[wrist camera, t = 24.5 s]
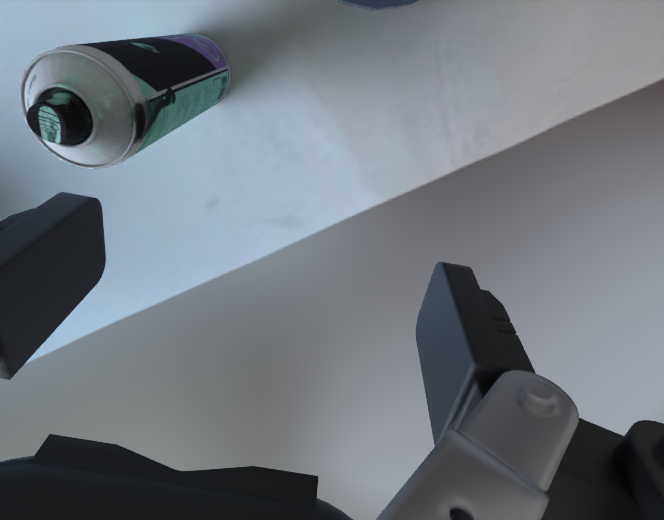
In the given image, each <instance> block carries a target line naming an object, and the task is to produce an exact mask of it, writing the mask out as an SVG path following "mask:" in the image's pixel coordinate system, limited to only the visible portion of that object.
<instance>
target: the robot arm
mask: <svg viewBox="0 0 664 520" xmlns="http://www.w3.org/2000/svg"><path fill="white" fill-rule="evenodd" d="M105 262H106V254H105V241H104V228H103V215H102V207H101V204H100V202H99V200H98V199H96V198H92V197H87V196H81V195H76V194H71V193H65V192H61V193H58V194H57V195H55V196H54V197H52V198H51V199H49V200H47V201H46V202H44V203H43V204H41V205H40V206H38V207H37V208H33V209H30V210H27V211H24V212H21V213H17V214H14V215H11V216H9V217H7V218H6V219H4V220H2V221H1V222H0V378H2V379H9V380H10V379H11V378H12V377H13V376H14V374H16V372H17V371H18V370H19V369H20V368H21V367H22V366H23V365H24V364H25V363H26V361H27V360H28V359H29V358H30V357H31V356H32V355H33V354H34V353H35V352H36V350H37V349H38V348H39V347H40V346H41V345H42V344H43V343H44V342H45V341H46V339H47V338H48V337H49V336H50V335H51V334H52V333H53V332H54V331H55V329H56V328H57V327H58V326H59V325H60V324H61V323H62V322H63V321H64V320H65V318H66V317H67V316H68V315H69V314H70V313H71V312H72V311H73V310H74V309H75V307H76V306H77V305H78V304H79V303H80V302H81V301H82V300H83V299H84V298H85V296H86V295H87V294H88V293H89V292H90V291H91V290H92V289H93V288H94V287H95V285H96V284H97V283H98V282H99V280H100V279H101V277H102V274H103V272H104V268H105ZM416 341H417V346H418V352H419V358H420V364H421V370H422V375H423V381H424V387H425V393H426V398H427V404H428V410H429V415H430V421H431V427H432V433H433V438H434V444H435V447H434V449H433V450H432V451H431V452H430V454H429V455H428V456H427V457H426V459H425V460H424V461H423V462H422V464H421V465H420V466H419V467H418V468H417V470H416V471H415V472H414V473H413V475H412V476H411V477H410V478H409V479H408V481H407V482H406V483H405V485H404V486H403V487H402V488H401V489H400V490H399V492H398V493H397V494H396V495H395V497H394V498H393V499H392V500H391V502H390V503H389V504H388V505H387V506H386V508H385V509H384V510H383V511H382V513H381V514H380V515H379V516H378V517H377V519H376V520H664V424H663V423H659V422H656V421H648V420H643V421H638V422H636V423H634V424H633V425H632V427H631V428H630V429H629V431H628V432H627V433H626V435H625V436H622V435H620V434H617V433H615V432H612V431H610V430H607V429H605V428H602V427H600V426H597V425H595V424H593V423H590V422H588V421H585V420H583V419H581V418H579V413H578V410H577V407H576V405H575V404H574V402H573V401H572V399H571V398H570V397H569V396H568V394H566V392H564V391H563V390H562V389H561V388H560V387H559V386H557V385H556V384H554V383H553V382H551V381H550V380H548V379H546V378H544V377H542V376H540V375H537V374H536V373H535V371H534V369H533V367H532V365H531V362H530V361H529V358H528V356H527V354H526V352H525V350H524V348H523V346H522V344H521V341H520V339H519V338H518V336H517V335H516V331H515V329H514V327H513V325H512V323H510V318H509V316H508V314H507V312H506V310H505V308H504V306H503V305H502V304H501V302H499V301H498V300H497V299H496V298H495V297H494V296H493V295H492V294H491V293H490V292H489V291H487V290H481V289H480V287H479V285H478V283H477V280H476V278H475V275H474V273H473V271H472V269H471V268H470V267H467V266H462V265H456V264H450V263H445V262H438V263H437V264H436V266H435V268H434V271H433V274H432V276H431V280H430V283H429V285H428V288H427V291H426V294H425V297H424V300H423V303H422V306H421V309H420V312H419V315H418V319H417V325H416ZM317 486H318V476H313V475H307V474H301V473H294V472H288V471H281V470H275V469H268V468H263V467H256V466H249V467H237V468H223V469H211V470H197V471H178V470H175V469H172V468H169V467H167V466H165V465H163V464H161V463H158V462H156V461H154V460H151V459H149V458H147V457H144V456H142V455H140V454H137V453H135V452H133V451H131V450H128V449H126V448H124V447H121V446H119V445H116V444H110V443H103V442H97V441H90V440H84V439H78V438H71V437H65V436H59V435H52V434H50V435H49V436H48V437H47V439H46V440H45V441H44V443H43V444H42V446H41V447H40V449H39V450H38V451H37V453H36V454H35V456H28V457H22V458H16V459H10V460H6V461H2V462H0V520H353V519H351V518H350V517H349V516H347V515H346V514H345V513H343V512H342V511H341V510H339V509H337V508H335V507H334V506H332V505H330V504H329V503H327V502H325V501H322V500H320V499H318V498H317Z"/></svg>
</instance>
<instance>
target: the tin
mask: <svg viewBox="0 0 664 520" xmlns="http://www.w3.org/2000/svg"><path fill="white" fill-rule="evenodd" d="M338 1H340V2H341V3H343V4H345V5H349V6H353V7H357V8H362V9H366V10H372V11H373V10H381V9H390V8H398V7H402V6H406V5H410V4H412V3H414V2H416V1H418V0H338Z"/></svg>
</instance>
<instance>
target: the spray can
mask: <svg viewBox="0 0 664 520" xmlns="http://www.w3.org/2000/svg"><path fill="white" fill-rule="evenodd" d="M230 81H231V70H230V65H229V62H228V59H227V57H226V55H225V54H224V52H223V50H222V49H221V48H220V47H219V46H218V45H217V44H216V43H215V42H214V41H212V40H211V39H209V38H207V37H205V36H203V35H199V34H190V33H188V34H178V35H168V36H158V37H148V38H138V39H128V40H118V41H108V42H98V43H88V44H78V45H68V46H63V47H57V48H55V49H53V50H51V51H47V52H45V53H43V54H41V55H39V56H37V57H36V58H35V59H34V60H33V61H31V62H30V64H29V65H28V66H27V68H26V69H25V71H24V73H23V76H22V79H21V82H20V90H19V95H20V105H21V109H22V113H23V116H24V118H25V120H26V123H27V125H28V127H29V128H30V130H31V132H32V133H33V135H34V136H35V138H36V139H37V140H38V141H39V142H40V143H41V145H42V146H43V147H44V148H46V149H47V150H48V151H49V152H50V153H51V154H53V155H54V156H56V157H57V158H59V159H60V160H62V161H64V162H66V163H69V164H71V165H73V166H77V167H81V168H87V169H99V168H105V167H108V166H111V165H115V164H118V163H120V162H123V161H125V160H126V159H128V158H129V157H131V156H133V155H134V154H136V153H138V152H139V151H141V150H142V149H144V148H146V147H147V146H149V145H150V144H152V143H154V142H155V141H157V140H159V139H160V138H162V137H163V136H165V135H167V134H168V133H170V132H172V131H173V130H175V129H176V128H178V127H180V126H181V125H183V124H184V123H186V122H188V121H189V120H191V119H193V118H194V117H196V116H197V115H199V114H201V113H202V112H204V111H206V110H207V109H209V108H210V107H212V106H214V105H215V104H217V103H218V102H219V101H220V100H221V99H222V98H223V97H224V96H225V95H226V93H227V91H228V89H229V86H230Z"/></svg>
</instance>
